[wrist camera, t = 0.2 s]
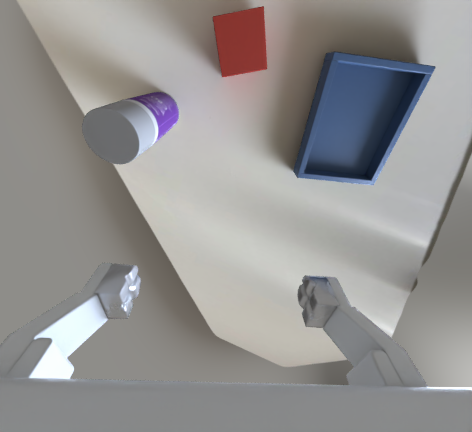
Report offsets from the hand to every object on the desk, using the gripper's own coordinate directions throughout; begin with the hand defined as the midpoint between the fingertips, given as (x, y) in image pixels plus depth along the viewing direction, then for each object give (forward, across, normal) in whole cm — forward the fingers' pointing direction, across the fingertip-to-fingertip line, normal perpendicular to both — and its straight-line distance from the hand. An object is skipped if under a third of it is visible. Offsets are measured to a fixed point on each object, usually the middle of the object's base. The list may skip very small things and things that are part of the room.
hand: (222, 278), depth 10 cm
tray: (+26, -17, -4) cm, 31 cm away
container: (+26, +10, -3) cm, 28 cm away
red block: (+26, 0, -11) cm, 28 cm away
